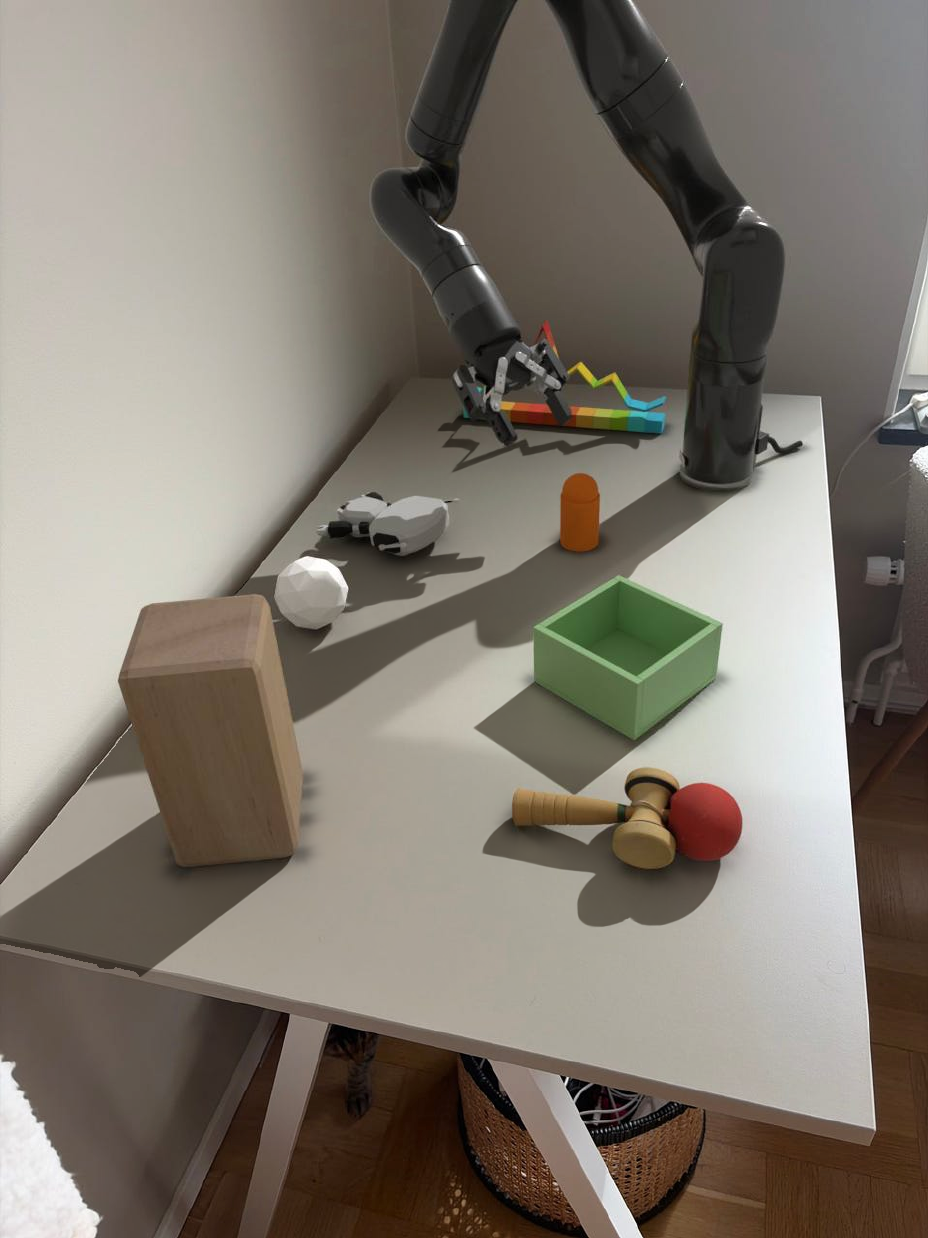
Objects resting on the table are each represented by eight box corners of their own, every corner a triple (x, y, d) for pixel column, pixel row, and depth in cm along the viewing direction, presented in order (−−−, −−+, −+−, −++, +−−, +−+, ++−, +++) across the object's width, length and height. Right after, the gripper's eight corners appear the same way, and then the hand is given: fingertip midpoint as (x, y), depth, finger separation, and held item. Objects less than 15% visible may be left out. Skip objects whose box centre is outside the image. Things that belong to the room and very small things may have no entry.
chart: (664, 424, 145) (671, 324, 136) (661, 433, 142) (668, 331, 134) (469, 409, 153) (464, 314, 145) (463, 417, 151) (458, 321, 142)
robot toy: (313, 554, 121) (414, 574, 113) (306, 521, 118) (408, 540, 111) (370, 510, 129) (467, 526, 122) (364, 479, 127) (463, 494, 119)
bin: (616, 627, 103) (618, 574, 99) (716, 678, 95) (723, 623, 92) (533, 681, 96) (533, 627, 93) (634, 741, 89) (637, 684, 85)
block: (192, 786, 87) (138, 599, 75) (305, 775, 87) (268, 587, 76) (175, 873, 79) (111, 678, 67) (299, 861, 79) (256, 665, 68)
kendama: (509, 873, 78) (742, 888, 73) (499, 807, 76) (739, 817, 70) (530, 817, 85) (744, 827, 80) (521, 754, 83) (742, 760, 77)
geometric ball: (310, 652, 107) (261, 622, 101) (304, 594, 112) (257, 562, 106) (365, 623, 104) (319, 591, 98) (358, 565, 109) (312, 530, 103)
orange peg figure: (577, 528, 121) (578, 462, 116) (606, 541, 118) (608, 474, 113) (552, 542, 118) (552, 475, 113) (580, 556, 115) (582, 487, 110)
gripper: (440, 311, 110) (507, 436, 109) (535, 284, 117) (599, 401, 116) (416, 346, 117) (480, 464, 116) (507, 318, 124) (568, 429, 123)
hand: (540, 432), depth 116 cm, fingers open, 8 cm apart
